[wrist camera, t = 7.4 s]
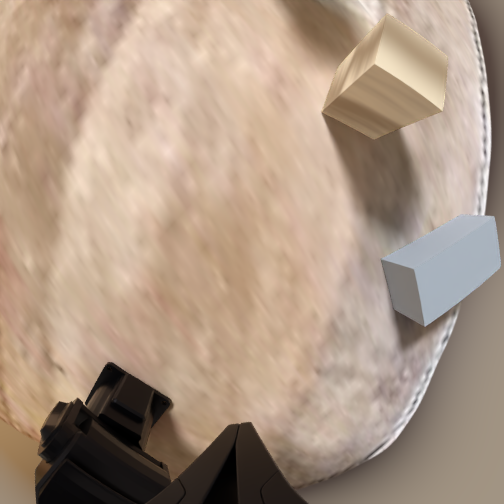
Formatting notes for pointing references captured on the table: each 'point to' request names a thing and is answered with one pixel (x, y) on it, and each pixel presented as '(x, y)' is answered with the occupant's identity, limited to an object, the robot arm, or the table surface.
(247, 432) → the robot arm
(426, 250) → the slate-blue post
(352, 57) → the birch post
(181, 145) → the table surface
